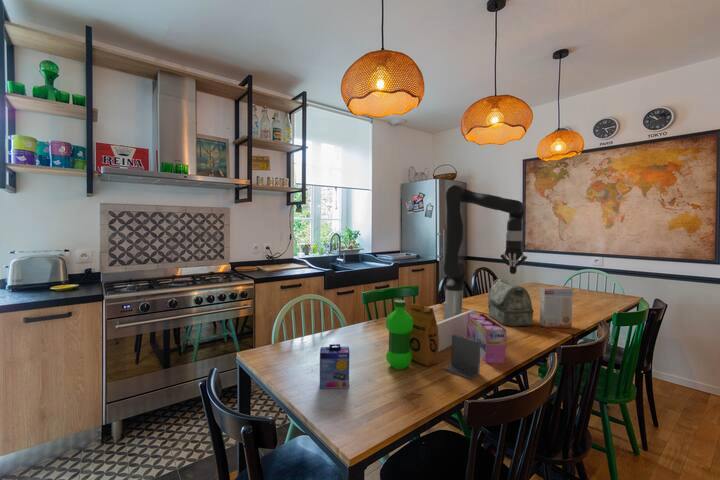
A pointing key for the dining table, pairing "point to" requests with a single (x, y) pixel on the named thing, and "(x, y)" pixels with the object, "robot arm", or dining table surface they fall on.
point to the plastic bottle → (399, 336)
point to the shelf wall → (452, 328)
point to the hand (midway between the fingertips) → (513, 273)
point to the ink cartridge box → (334, 367)
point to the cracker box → (556, 307)
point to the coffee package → (424, 335)
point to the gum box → (487, 337)
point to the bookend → (464, 357)
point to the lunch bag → (510, 304)
